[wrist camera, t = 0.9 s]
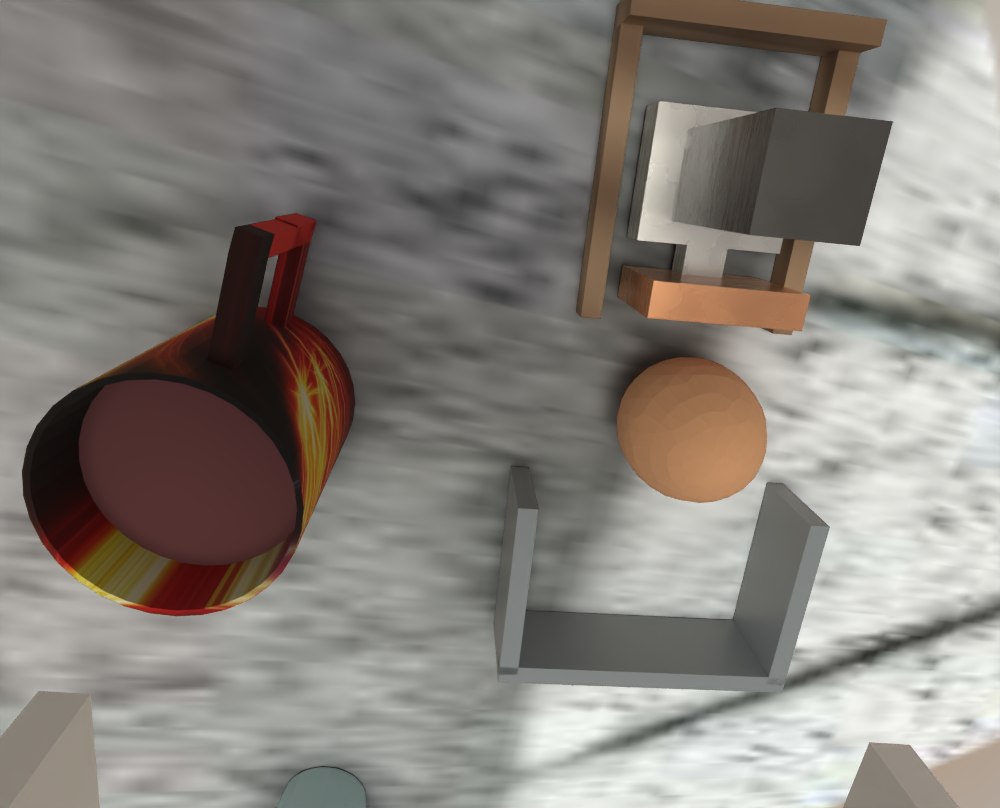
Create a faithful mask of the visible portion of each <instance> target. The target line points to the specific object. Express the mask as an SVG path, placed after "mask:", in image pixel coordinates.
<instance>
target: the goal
mask: <svg viewBox="0 0 1000 808" xmlns="http://www.w3.org/2000/svg"><path fill="white" fill-rule="evenodd" d="M538 511H539V509H538V505H537V501H536V496H535V492H534V488H533V484H532V480H531V475H530V471H529V467H515V466H511V470H510V479H509V488H508V497H507V507H506V516H505V525H504V534H503V543H502V552H501V561H500V570H499V579H498V588H497V597H496V606H495V615H494V634H495V648H496V661H497V675H498V682H506V683H534V684H561V685H588V686H616V687H643V688H670V689H698V690H725V691H752V692H780V693H782V690H783V687H784V683H785V680H786V676H787V673H788V669H789V666H790V662H791V659H792V656H793V652H794V649H795V645H796V642H797V638H798V635H799V631H800V628H801V624H802V621H803V618H804V614H805V611H806V607H807V604H808V600H809V597H810V593H811V590H812V586H813V583H814V579H815V576H816V573H817V569H818V566H819V562H820V559H821V555H822V552H823V548H824V545H825V541H826V538H827V535H828V531H829V528H830V527H829V526H828V525H827V524H826V523H825V522H824V521H823V520H822V519H821V518H820V517H819V516H817V515H816V514H815V513H814V512H813V511H812V510H811V509H810V508H809V507H808V506H807V505H806V504H805V503H804V502H802V501H801V500H800V499H799V498H798V497H797V496H796V495H795V494H794V493H793V492H792V491H791V490H790V489H788V488H787V487H786V486H785V485H784V484H777V483H767V485H766V489H765V493H764V497H763V501H762V505H761V509H760V513H759V518H758V522H757V526H756V530H755V534H754V538H753V542H752V546H751V550H750V554H749V558H748V562H747V566H746V570H745V574H744V578H743V582H742V586H741V590H740V594H739V598H738V602H737V606H736V610H735V614H734V618H733V620H721V619H699V618H677V617H656V616H634V615H612V614H591V613H569V612H547V611H526V604H527V596H528V589H529V581H530V573H531V565H532V557H533V550H534V542H535V534H536V526H537V518H538Z"/></svg>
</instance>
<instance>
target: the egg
mask: <svg viewBox="0 0 1000 808" xmlns="http://www.w3.org/2000/svg"><path fill="white" fill-rule="evenodd" d="M617 434H618V439H619V444H620V447H621V449H622V452H623V454H624V456H625V458H626V459H627V461H628V462H629V464H630V465H631V467H632V468H633V470H634V471H635V472H636V474H637V475H638V476H639V477H640V478H641V479H642V480H643V481H644V482H645V483H647V484H648V485H649V486H650V487H651V488H653V489H655V490H657V491H658V492H660V493H662V494H664V495H665V496H668V497H672V498H675V499H679V500H684V501H691V502H698V503H702V502H713V501H717V500H721V499H724V498H727V497H730V496H732V495H733V494H735V493H737V492H739V491H741V490H742V489H744V488H745V487H746V486H747V485H748V484H749V483H750V482H751V481H752V480H753V479H754V478H755V476H756V474H757V472H758V470H759V468H760V466H761V464H762V462H763V459H764V456H765V453H766V444H767V431H766V419H765V416H764V413H763V410H762V407H761V405H760V403H759V402H758V400H757V398H756V396H755V395H754V393H753V392H752V391H751V389H750V388H749V387H748V386H747V384H746V383H745V382H744V381H743V380H742V379H741V378H740V377H738V376H737V375H736V374H735V373H733V372H732V371H730V370H729V369H727V368H726V367H724V366H722V365H720V364H718V363H715V362H713V361H709V360H706V359H703V358H691V357H678V358H673V359H668V360H664V361H661V362H659V363H657V364H655V365H653V366H651V367H648V368H647V369H646V370H645V371H643V372H642V373H641V374H640V375H639V376H637V377H636V378H635V379H634V381H633V382H632V383H631V384H630V386H629V387H628V389H627V390H626V392H625V394H624V396H623V398H622V400H621V404H620V407H619V411H618V415H617Z"/></svg>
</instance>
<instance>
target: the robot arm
mask: <svg viewBox="0 0 1000 808" xmlns="http://www.w3.org/2000/svg"><path fill="white" fill-rule="evenodd" d="M0 808H100V807H99V794H98V782H97V770H96V758H95V745H94V733H93V721H92V708H91V696H90V694H79V693H62V692H46V691H38V693H37V694H36V695H35V696H34V697H33V699H32V700H31V701H30V702H29V703H28V705H27V706H26V707H25V708H24V710H23V711H22V712H21V713H20V714H19V716H18V717H17V718H16V719H15V720H14V722H13V723H12V724H11V725H10V727H9V728H8V729H7V730H6V731H5V733H4V734H3V735H2V736H1V737H0ZM843 808H959V806H958V805H957V804H956V803H955V801H954V800H953V799H952V798H951V796H950V795H949V794H948V793H947V791H946V790H945V789H944V787H943V786H942V785H941V784H940V782H939V781H938V780H937V779H936V777H935V776H934V775H933V774H932V772H931V771H930V770H929V769H928V767H927V766H926V765H925V764H924V762H923V761H922V760H921V759H920V757H919V756H918V755H917V754H916V752H915V751H914V750H913V748H912V747H911V746H910V745H903V744H887V743H871V742H869V745H868V747H867V750H866V752H865V755H864V757H863V760H862V762H861V765H860V767H859V770H858V772H857V775H856V777H855V779H854V782H853V784H852V787H851V789H850V792H849V794H848V797H847V799H846V802H845V804H844V807H843Z"/></svg>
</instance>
